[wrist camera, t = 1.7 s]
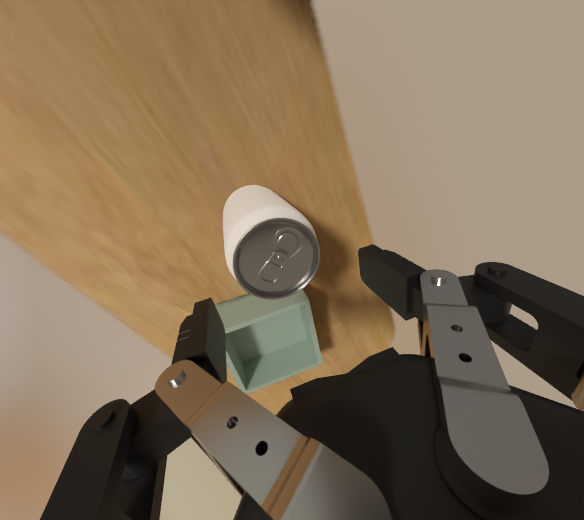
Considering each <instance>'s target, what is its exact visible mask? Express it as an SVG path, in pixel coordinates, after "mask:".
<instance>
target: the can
mask: <svg viewBox="0 0 584 520" xmlns="http://www.w3.org/2000/svg"><path fill="white" fill-rule="evenodd" d="M223 232H224V248H225V257H226V262H227V265H228V268H229V270H230V272H231V274H232V275H233V276H234V278H235V279H236V280H237V281H238V282H239V284H240V285H241V286H242V287H243V288H244V289H245V290H246V291H247V292H248V293H250V294H252V295H254V296H256V297H259V298H262V299H269V300H276V299H283V298H286V297H289V296H292V295H294V294H296V293H298V292H299V291H301V290H302V289H303V288H304V287H306V286H307V285H308V284H309V282H310V281H311V280H312V279H313V277H314V276H315V274H316V272H317V269H318V266H319V263H320V247H319V243H318V241H317V238H316V234H315V231H314V229H313V227H312V225H311V224H310V222H309V221H308V220H307V219H306V218H305V217H304V216H303V215H302V214H301V213H300V212H299V211H298V210H296V209H295V208H294V207H293V206H291V205H290V204H289V203H287V202H286V201H285V200H284V199H282V198H281V197H280V196H278V195H277V194H276V193H274V192H273V191H271V190H270V189H268V188H265V187H262V186H258V185H248V186H244V187H241V188H239V189H238V190H236V191H235V192H233V193H232V194H231V195H230V197H229V198H228V199H227V201H226V203H225V206H224V210H223Z"/></svg>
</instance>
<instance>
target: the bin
mask: <svg viewBox="0 0 584 520" xmlns="http://www.w3.org/2000/svg"><path fill="white" fill-rule="evenodd" d="M215 307H216V309H217V311H218V313H219V315H220V317H221V320H222V322H223V325H224V328H225V336H226V364H227V366H228V368H229V370H230V372H231V373H232V375H233V377H234V379H235V381H236V383H237V385H238V387H239V389H240V390H241V391H242V392H244V393H245V394H249V393H251V392H254V391H256V390H259V389H261V388H264V387H266V386H269V385H271V384H274V383H276V382H279V381H281V380H284V379H286V378H289V377H291V376H294V375H296V374H298V373H301V372H303V371H306V370H308V369H311V368H313V367H316V366H318V365H321V364H323V362H322V357H321V353H320V348H319V343H318V339H317V334H316V330H315V325H314V320H313V316H312V311H311V307H310V302H309V299H308V297H307V295H306V294H305V292H304V290H303V289H302V290H301V291H299V292H298V293H296V294H294V295H292V296H289V297H286V298H283V299H276V300H269V299H262V298H259V297H256V296H254V295H252V294H250V293H248V294H246V295H243V296H240V297H237V298H234V299H231V300H228V301H225V302H222V303H219V304H216V305H215Z"/></svg>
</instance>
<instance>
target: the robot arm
mask: <svg viewBox="0 0 584 520" xmlns="http://www.w3.org/2000/svg"><path fill="white" fill-rule="evenodd" d="M358 256H359V267H360V275H361V278H362V280H363V282H364V283H365V284H366V285H367V286H368V287H369V288H370V289H371V290H372V291H373V292H375V293H376V294H377V295H378V296H379V297H380V298H381V299H382V300H383V301H385V302H386V303H387V304H388V305H389V306H390V307H391V308H392V309H393V310H395V311H396V312H397V313H398V314H399V315H400V316H401V317H402V318H404V319H405V320H409V319H411V318H414V317H416V318H417V319H418V333H419V343H420V353H421V355H415V354H401V355H399V354H398V353H397V352H396V351H395V349H394V348H393V347H391V348H389V349H387V350H384V351H382V352H379V353H377V354H374V355H372V356H370V357H368V358H367V359H365V360H364V361H363V362H361V363H360V364H359V365H358V366H356V367H355V368H354V369H352V370H351V371H350V372H348V373H346V374H342V375H335V376H329V377H322V378H316V379H314V380H311V381H309V382H307V383H304V384H302V385H299V386H297V387H295V388H292V389H290V391H291V394H292V397H293V399H292V400H290V401H289V402H288V403H287V404H286V405H285V406H284V407H283V408H282V409H281V410H280V411H279V412H278V414H277V415H274V414H273V413H271V412H270V411H269V410H267V409H266V408H265V407H263V406H262V405H260V404H259V403H258V402H256V401H255V400H253V399H252V398H251V397H249V396H248V395H247V394H245V393H244V392H242V391H241V390H240V389H238V388H237V387H235V386H234V385H233V384H231V383H230V382H228V381H227V370H226V336H225V328H224V325H223V322H222V320H221V317H220V315H219V313H218V311H217V309H216V307H215V304H214V302H213V300H212V299H211V298H208V299H205V300H202V301H199V302H196V303H195V304H194V310H193V314H192V315H189V316H187V317H186V318H185V319H184V321H183V322H182V324H181V325H180V330H179V335H178V338H177V343H176V347H175V351H174V356H173V360H172V365H171V366H169V367H168V368H167V369H166V370H165V371H164V372H163V373H162V374H161V375H160V376H159V378H158V380H157V382H156V384H155V389H154V390H153V391H151V392H150V393H148V394H147V395H145V396H144V397H142V398H141V399H139V400H137V401H136V402H134V403H133V404H131V405H130V404H129V403H128V402H127V401H126V400H124V399H118V400H114V401H111V402H109V403H107V404H106V405H104V406H102V407H101V408H100V409H98V410H97V411H96V412H95V413H94V414H93V415H92V416H91V417H90V418H89V419H88V420H87V421H86V423H85V424H84V425H83V427H82V429H81V430H80V432H79V435H78V437H77V439H76V441H75V444H74V446H73V448H72V450H71V452H70V454H69V457H68V459H67V461H66V463H65V465H64V468H63V470H62V472H61V474H60V477H59V479H58V481H57V483H56V485H55V487H54V490H53V492H52V494H51V496H50V499H49V501H48V503H47V505H46V507H45V510H44V512H43V514H42V516H41V518H40V520H159V517H160V510H161V501H162V494H163V486H164V478H165V470H166V460H167V455H168V454H169V453H171V452H172V451H173V450H175V449H176V448H177V447H179V446H180V445H181V444H182V443H184V442H185V441H186V440H187V439H189V438H190V437H191V438H192V439H193V440H194V442H195V443H196V444H197V445H198V446H199V447H200V448H201V450H202V451H203V452H204V453H205V454H206V455H207V456H208V457H209V459H210V460H211V461H212V462H213V463H214V464H215V465H216V467H217V468H218V469H219V470H220V471H221V472H222V474H223V475H224V476H225V477H226V478H227V480H228V481H229V482H230V483H231V484H232V486H233V487H234V488H235V489H236V490H237V491H238V492H239V494H240V495H241V496H242V498H241V501H240V504H239V506H238V509H237V511H236V514H235V517H234V519H233V520H584V296H582V295H579V294H577V293H575V292H573V291H570V290H568V289H565V288H563V287H561V286H558V285H556V284H554V283H551V282H549V281H546V280H544V279H541V278H539V277H537V276H534V275H532V274H530V273H527V272H525V271H523V270H520V269H518V268H515V267H513V266H511V265H508V264H504V263H498V262H486V263H481V264H479V265H477V266H476V268H475V274H474V275H470V276H461V277H457V276H456V275H455V274H453V273H451V272H449V271H445V270H428V271H427V270H425V269H423V268H422V267H420V266H418V265H416V264H414V263H413V262H411V261H408V260H407V259H406V258H404V257H401V256H400V255H398V254H396V253H395V252H391V251H388V250H382V249H380V248H379V247H377V246H375V245H373V244H372V245H369V246H366V247H363V248H360V249H359V251H358ZM512 304H513V305H515V306H517V307H519V308H520V309H522V310H524V311H526V312H527V313H529V314H531V315H532V316H533V317H534V318H535V319H536V320H537V322H538V330H536V329H534V328H533V327H531V326H529V325H528V324H526V323H524V322H523V321H521V320H519V319H518V318H516V317H514V316H513V315H511V314H509V313H510V309H511V306H512ZM490 340H492V341H493V342H494V343H495V344H497V345H498V346H499V347H501V348H502V349H503V350H505V351H506V352H508V353H509V354H510V355H512V356H513V357H514V358H516V359H517V360H518V361H520V362H521V363H523V364H524V365H525V366H526V367H528V368H529V369H530V370H532V371H533V372H534V373H536V374H537V375H538V376H540V377H541V378H543V379H544V380H545V381H547V382H548V383H549V384H551V385H552V386H553V387H554V388H556V389H557V390H558V391H560V392H561V393H563V394H564V395H565V396H567V397H568V398H569V399H571V400H572V401H573V402H574V404H575V406H576V407H577V408H578V409H579V410H578V409H576V408H572V407H570V406H567V405H564V404H561V403H558V402H556V401H553V400H550V399H547V398H544V397H541V396H539V395H535V394H533V393H530V392H527V391H524V390H522V389H519V388H516V387H513V386H510V385H508V383H507V380H506V378H505V375H504V373H503V371H502V368H501V366H500V363H499V361H498V358H497V356H496V353H495V351H494V348H493V346H492V343H491V341H490Z"/></svg>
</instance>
